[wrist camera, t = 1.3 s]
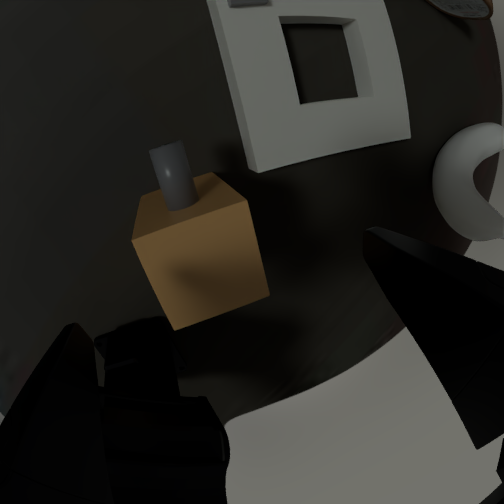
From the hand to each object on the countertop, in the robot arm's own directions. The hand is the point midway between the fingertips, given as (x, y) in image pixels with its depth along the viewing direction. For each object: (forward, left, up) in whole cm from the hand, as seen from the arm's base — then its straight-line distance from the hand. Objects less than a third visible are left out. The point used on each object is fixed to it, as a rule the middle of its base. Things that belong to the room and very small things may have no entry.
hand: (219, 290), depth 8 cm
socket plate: (+7, -12, -12) cm, 19 cm away
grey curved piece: (-3, -28, -13) cm, 31 cm away
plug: (0, 0, -12) cm, 12 cm away
